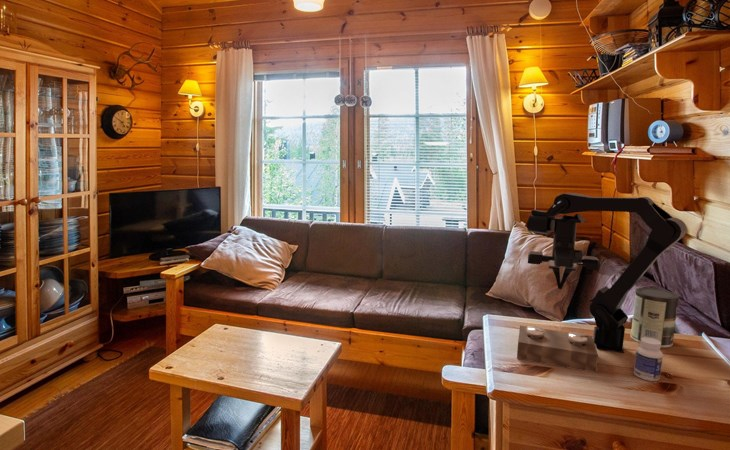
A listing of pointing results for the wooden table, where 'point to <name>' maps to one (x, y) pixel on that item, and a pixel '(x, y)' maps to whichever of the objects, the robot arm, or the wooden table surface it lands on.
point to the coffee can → (654, 315)
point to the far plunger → (535, 332)
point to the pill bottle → (648, 359)
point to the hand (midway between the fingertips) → (559, 288)
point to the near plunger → (577, 338)
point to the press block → (557, 350)
